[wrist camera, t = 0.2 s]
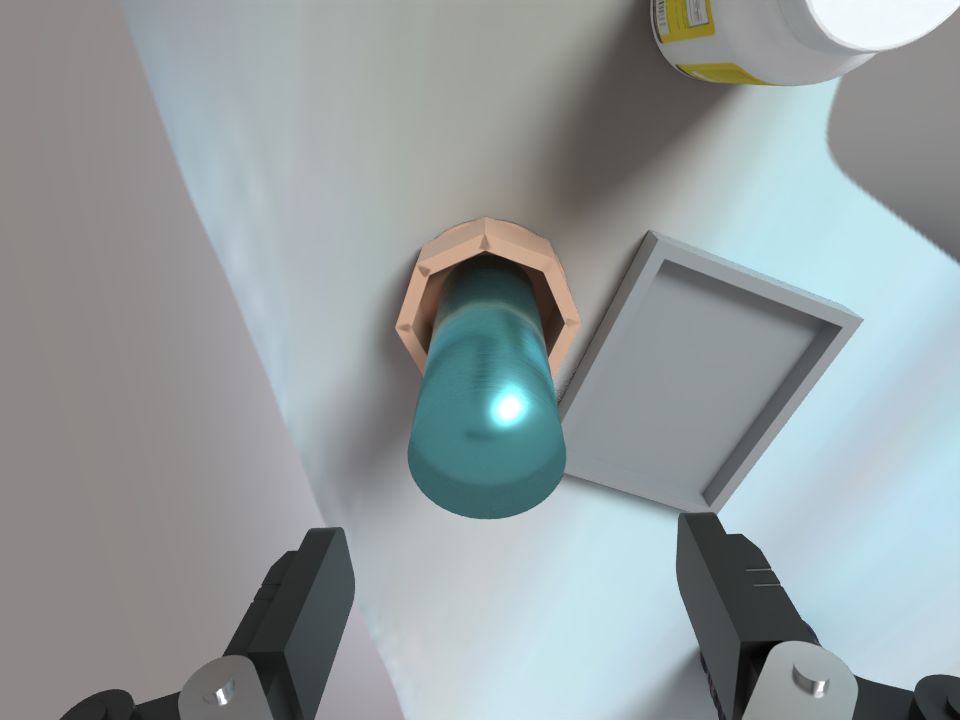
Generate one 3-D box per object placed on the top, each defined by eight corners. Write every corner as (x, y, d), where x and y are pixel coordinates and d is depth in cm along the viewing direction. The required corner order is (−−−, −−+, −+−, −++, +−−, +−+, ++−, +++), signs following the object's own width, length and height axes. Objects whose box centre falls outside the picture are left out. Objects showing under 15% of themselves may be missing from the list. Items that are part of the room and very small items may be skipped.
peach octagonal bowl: (437, 194, 31) (431, 211, 27) (593, 253, 32) (606, 276, 29) (390, 339, 35) (379, 370, 31) (530, 385, 36) (534, 420, 33)
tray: (649, 229, 32) (658, 239, 30) (844, 306, 34) (864, 319, 32) (537, 446, 39) (539, 465, 37) (703, 499, 41) (713, 519, 39)
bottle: (458, 240, 32) (436, 369, 18) (550, 274, 32) (593, 421, 19) (428, 326, 34) (388, 494, 21) (514, 355, 35) (529, 535, 22)
